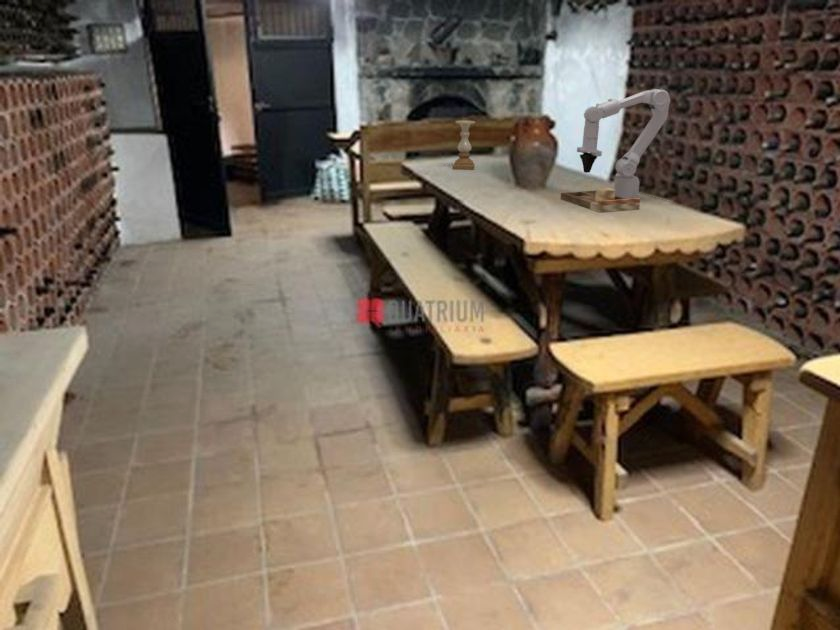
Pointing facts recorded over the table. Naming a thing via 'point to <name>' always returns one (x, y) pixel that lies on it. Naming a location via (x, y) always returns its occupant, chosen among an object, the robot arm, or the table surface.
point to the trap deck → (588, 201)
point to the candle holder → (464, 148)
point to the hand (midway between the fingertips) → (586, 172)
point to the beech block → (604, 194)
